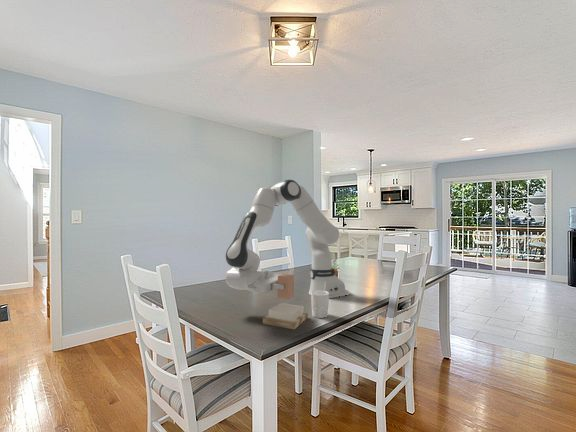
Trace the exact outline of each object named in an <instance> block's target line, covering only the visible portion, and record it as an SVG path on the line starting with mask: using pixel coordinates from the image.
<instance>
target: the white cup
mask: <svg viewBox="0 0 576 432" xmlns="http://www.w3.org/2000/svg"><path fill="white" fill-rule="evenodd" d="M310 298H311V315H312V317H314V318H316V317H317V319H324V317H325V318H327V317H328V316H329V304H330V303H329V301H330V298H329V292H326V291H312V292H311V295H310Z"/></svg>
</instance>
